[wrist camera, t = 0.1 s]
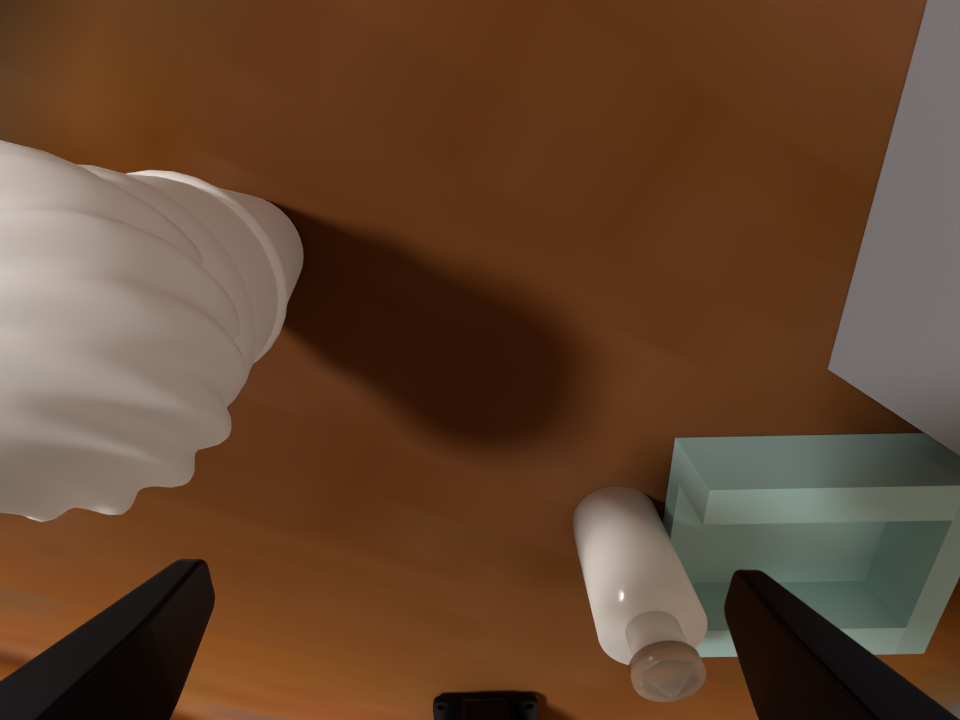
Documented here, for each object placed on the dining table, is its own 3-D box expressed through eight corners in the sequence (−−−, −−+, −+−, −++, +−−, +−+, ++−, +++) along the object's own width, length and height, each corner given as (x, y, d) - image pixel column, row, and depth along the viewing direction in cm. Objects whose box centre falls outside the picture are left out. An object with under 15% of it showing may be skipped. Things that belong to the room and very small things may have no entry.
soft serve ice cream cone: (189, 92, 19) (-875, -83, 4) (390, 214, 20) (157, 403, 6) (123, 281, 22) (-641, 582, 7) (305, 375, 23) (4, 775, 9)
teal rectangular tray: (866, 587, 28) (923, 653, 25) (652, 590, 29) (677, 657, 25) (924, 432, 24) (1002, 484, 21) (675, 437, 25) (709, 490, 21)
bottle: (651, 551, 27) (719, 715, 20) (569, 553, 27) (605, 717, 20) (661, 485, 26) (739, 635, 18) (573, 486, 26) (614, 637, 18)
